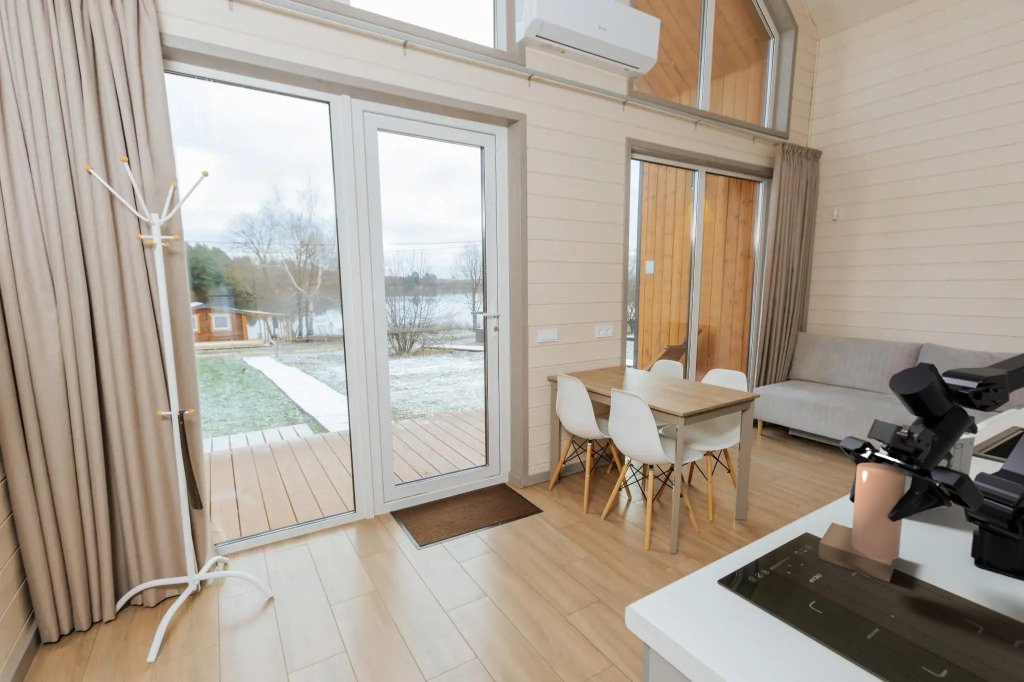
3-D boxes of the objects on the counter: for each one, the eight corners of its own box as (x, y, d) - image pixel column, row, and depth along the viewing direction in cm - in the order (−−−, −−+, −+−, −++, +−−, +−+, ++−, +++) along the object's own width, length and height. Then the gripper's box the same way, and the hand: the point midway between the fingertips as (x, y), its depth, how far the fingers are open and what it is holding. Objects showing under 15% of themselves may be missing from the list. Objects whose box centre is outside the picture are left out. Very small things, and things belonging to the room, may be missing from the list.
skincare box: (896, 518, 99) (903, 444, 97) (871, 506, 104) (876, 436, 103) (968, 505, 105) (976, 435, 103) (940, 495, 110) (947, 428, 108)
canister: (902, 549, 75) (909, 469, 74) (894, 564, 71) (901, 481, 70) (856, 535, 80) (862, 459, 78) (846, 548, 76) (852, 469, 74)
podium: (897, 557, 85) (898, 541, 84) (889, 582, 78) (891, 565, 77) (830, 537, 92) (832, 522, 91) (818, 558, 85) (819, 542, 84)
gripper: (850, 390, 83) (793, 457, 81) (976, 418, 65) (905, 506, 63) (883, 430, 85) (828, 496, 84) (1013, 469, 67) (946, 553, 66)
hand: (870, 510), depth 74 cm, fingers closed on canister, 6 cm apart
